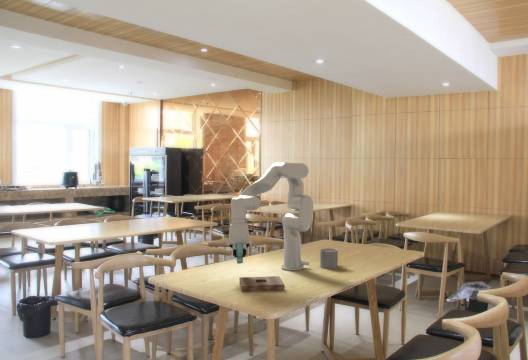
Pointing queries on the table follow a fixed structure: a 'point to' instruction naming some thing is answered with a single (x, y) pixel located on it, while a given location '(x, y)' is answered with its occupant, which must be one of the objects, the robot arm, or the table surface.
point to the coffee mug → (329, 258)
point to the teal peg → (239, 253)
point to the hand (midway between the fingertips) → (239, 256)
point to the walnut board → (261, 284)
